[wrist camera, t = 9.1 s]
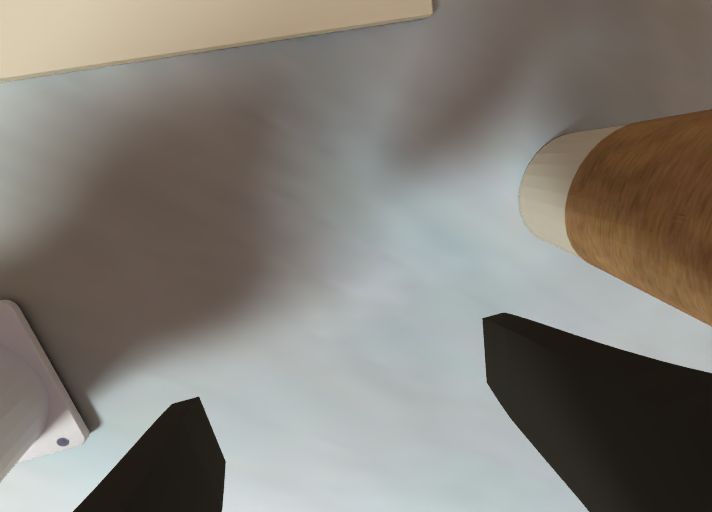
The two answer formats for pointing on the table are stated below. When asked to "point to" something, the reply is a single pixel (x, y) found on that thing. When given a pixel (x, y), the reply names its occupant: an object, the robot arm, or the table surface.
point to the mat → (168, 28)
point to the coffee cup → (632, 204)
